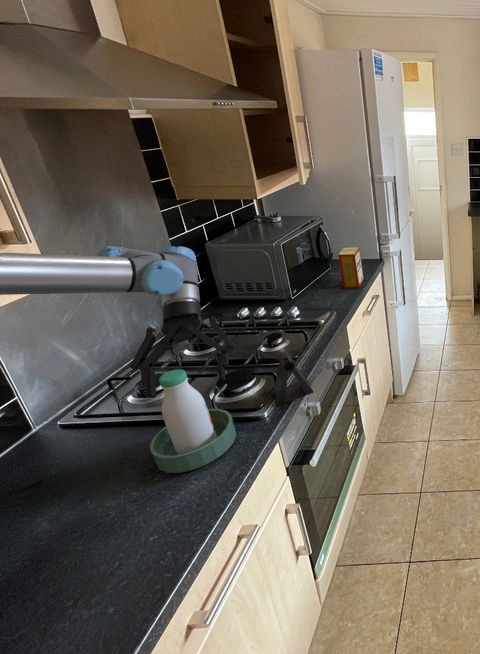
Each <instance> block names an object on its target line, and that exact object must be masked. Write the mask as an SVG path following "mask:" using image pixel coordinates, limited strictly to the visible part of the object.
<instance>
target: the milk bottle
mask: <svg viewBox="0 0 480 654" xmlns="http://www.w3.org/2000/svg"><path fill="white" fill-rule="evenodd" d="M188 379H189V378H188V375H187V372H186V371H185V370H184V369H173V370H170V371H167V372H165V373H164V374H162V375H161V376H160V377H159V378H158V382H159V385H160V387H161V389H162V390H163V399H162V403H161V415H162V417H163V422H164V424H165V426H166V427H167V429H168V432H169V434H170V437H171V440H172V442H173V445H174V447H175V450H176V452H177V454H178V455H180V454H185V453H189V452H191V451H194V450H197V449H199V448H201V447H203V446H205V445H207V444H209V443H211V442H212V441H213V440H215V439H216V438H217V435H216V432H215V429H214V426H213V423H212V420H211V417H210V414H209V411H208V409H209V408H208V406H207V404H206V401H205V398H204V396H203V395H202V394H201V393H200V392H199V390H197V389H195V387H193V386H192V385H190V383H189V382H188Z"/></svg>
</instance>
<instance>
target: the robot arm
mask: <svg viewBox="0 0 480 654" xmlns="http://www.w3.org/2000/svg"><path fill="white" fill-rule="evenodd" d="M198 267H199V266H198V263H197V257H196V254H195V251H193V250H192V249H190V248H189V247H186V246H174V245H173V246H168V247H164V248H162V249H161V250H160V251H159V252H153V251H147V250H141V249H134V248H128V247H124V246H116V245H115V246H114V245H105V246H103V247H101V248H100V249H99V250H98V252H97V253H96V255H77V254H76V255H75V254H55V253H54V254H50V253H29V252H28V253H27V252H24V253H23V252H4V253H0V296H2V295H3V296H7V295H8V296H11V295H58V294H59V295H61V294H63V295H64V294H65V295H66V294H101V293H102V294H110V293H147V294H149V295H152V296H159V297H161V305H162V310H161V311H162V326H161V327H156V328H153V327H151V326H150V327H147V328H146V330H145V337H144V339H143V341H142V342H141V344H140V345H139V346H140V347H139V348H138V350H137V351H136V353H135V355H134V357H133V359H132V361H131V362H130V364H129V368H130V369H132V370H134V371H140V381H141V383H142V384H143V385H146V396H147V397H149V398H151V399H154V398H157V385H156V383H157V382H156V370H155V369H154V368H153V367H154V366H155V364H156V363H158V361H159V360H160V359H161V357H162V356H164V354H165V353H166V352H167V350H168V349H169V348H171V347H172V346H173V345H174V344H175V343H179V344H180V343H183V342H185V341H193V340H195V339H196V338H198V339H200V340H201V341H203V342H204V343H206V344H207V345H209V346H211V347H212V348H214V349H215V350H216V351H218V352H216V354H215V355H216V364H217V375H218V380H219V381H220V382H224V381H226V372H225V367H228V366H229V364H230V361H229V353H230V352H232V351H234V350H236V349H237V345H235V344H234V343H233V341H232V340H231V339H230V337H228V335H227V334H226V333H225V332H224V330H222V328H221V327H220V326H219V322H218V319H217V318H216V317H215V316H214V315H211V316H209V318H206V319H203V317H202V307H201V304H200V303H201V297H200V288H199V277H198V276H199V275H198ZM205 326H207V327H208V328H212V329H213V330H214V332H215V333H216V334H217V335H218V337H219V338H220V339H221V340H222V341H223V342H224V344H225V346H223V345H221V344H220V343H219V342H217V341H215V340H214V339H212V338H211V337H209V336H208V335H206V334H205V333H204V332H203V331H202V330H203V328H204V327H205ZM161 334H164V336H163V337H162V338H161V340H160V342H159V344H158V345H157V346H156V347H155V348H154V349H153V346H154V345H155V343H156V340H157V339H158V338H159V337H160V335H161ZM152 349H153V350H152ZM150 352H151V353H150ZM149 353H150V354H149Z"/></svg>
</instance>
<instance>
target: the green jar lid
mask: <svg viewBox="0 0 480 654" xmlns="http://www.w3.org/2000/svg"><path fill="white" fill-rule="evenodd" d="M207 409H208V411H209V414H210V417H211V420H212V423H213V426H214V429H215V432H216V435H217V438H216V439H215V440H213V441H212V442H211V443H209V444H207V445H205V446H203V447H201V448H199V449H197V450H194V451H191V452H189V453H185V454H180V455H178V454H177V452H176V450H175V447H174V445H173V442H172V440H171V437H170V434H169V432H168V429H167V427H166V425H165V426H164V427H162V428H161V430H159V431H158V432H157V433H156V434H155V435H154V436H153V439H152V440H151V441H150V445H149V451H150V454H151V456H152V458H153V461H154V463H155V465H156V467H157V468H158V470H160V471H162V472H164V473H167V474H182V473H185V472H190V471H194V470H196V469H199V468H201V467H204V466H206V465H208V464H209V463H211V462H213V461H215V460H217V459H218V458H220V457H221V456H222V455H224V454H225V453H226V452H228V450H229V449H230V448H231V447H232V445H233V444H234V442H235V441H236V438H237V430H236V429H237V428H236V426H235V422H234V419H233V416H232V414H231V413H230V412H229V411H227V410H225V409H221V408H207Z"/></svg>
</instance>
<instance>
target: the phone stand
mask: <svg viewBox="0 0 480 654" xmlns="http://www.w3.org/2000/svg"><path fill="white" fill-rule="evenodd" d="M284 355H285V356H286V359H285V358H284V356H283V354H282V352H279V354H278V356H277V360H278V368H277V373H276V379H275V384H274V389H273V395H274V398H275V401H276V404H277V406H281V405H284V404H287V403H290V402H292V401H295V400H296V399H301V398H304V397H306V396H309V395H311V394H314V390H313V387H312V386H311V384H310V381H309V380H308V379H307V377H306V376H305V375H304V373H302V371H301V370H300V369H299V367H297V366H296V364H295V361H294V359H293V358H292V356H291V354H290V352H289V351H287V350H285V351H284ZM289 374H293V375H294V377H295V378H296V380H297V382H298V384H296V385H293V386H290V387H287V385H288V375H289Z"/></svg>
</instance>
